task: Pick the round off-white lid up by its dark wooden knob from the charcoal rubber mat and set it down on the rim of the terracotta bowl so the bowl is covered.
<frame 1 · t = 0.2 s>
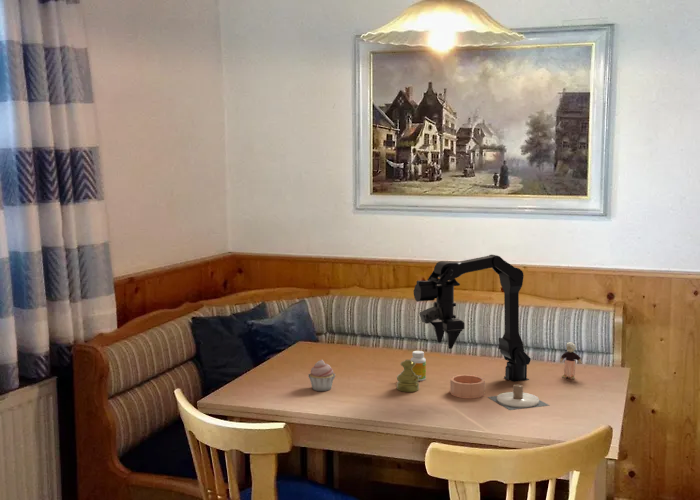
hand: (444, 345, 261), 14 cm above the table, tool pointing down, fingers open, 9 cm apart
supplement bottle: (418, 379, 273), on the table
bowl: (467, 394, 255), on the table
cupcake: (321, 389, 262), on the table
grandmother figurine: (570, 378, 274), on the table
olive green figurine: (407, 389, 261), on the table
lid: (517, 401, 246), resting on mat
mat: (517, 402, 246), on the table
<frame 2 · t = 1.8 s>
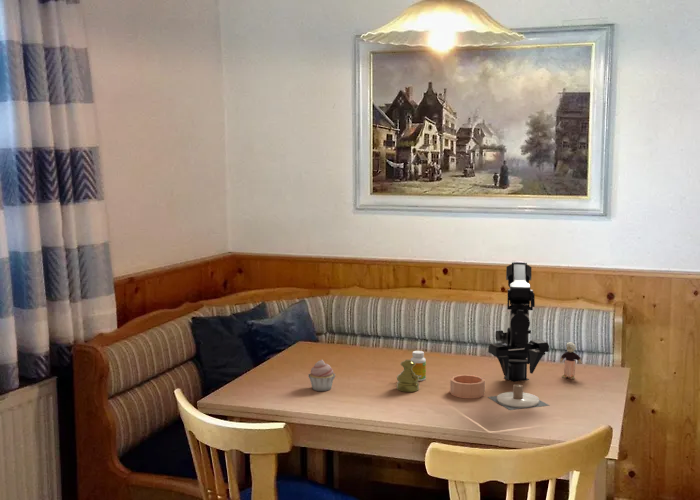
hand: (518, 374, 245), 9 cm above the table, tool pointing down, fingers open, 9 cm apart
nothing on the table moved.
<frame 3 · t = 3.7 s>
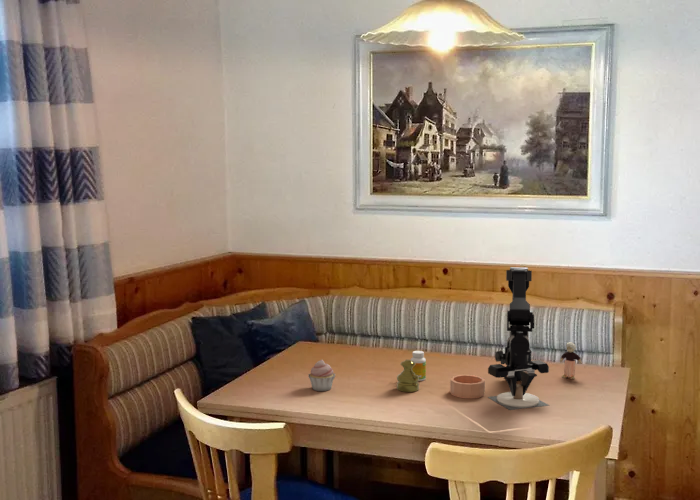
hand: (518, 395, 246), 2 cm above the table, tool pointing down, fingers closed on lid, 3 cm apart
lid: (517, 401, 246), resting on mat, touching gripper
everything else where it was.
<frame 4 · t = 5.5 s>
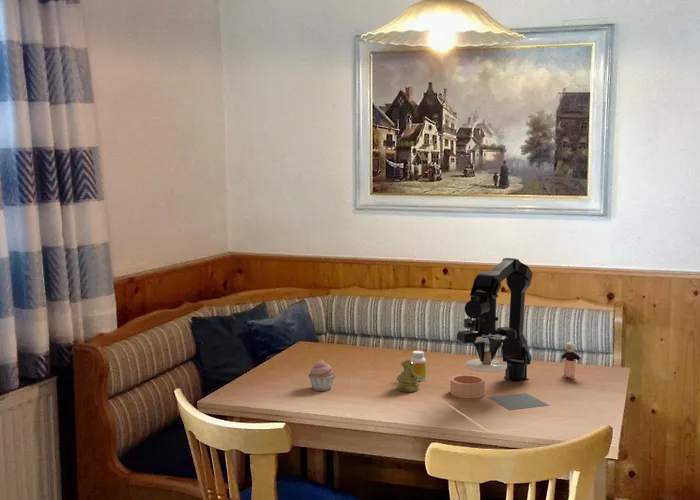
hand: (486, 361, 250), 12 cm above the table, tool pointing down, fingers closed on lid, 3 cm apart
lid: (486, 366, 250), point 10 cm above the table, touching gripper
everything else where it was.
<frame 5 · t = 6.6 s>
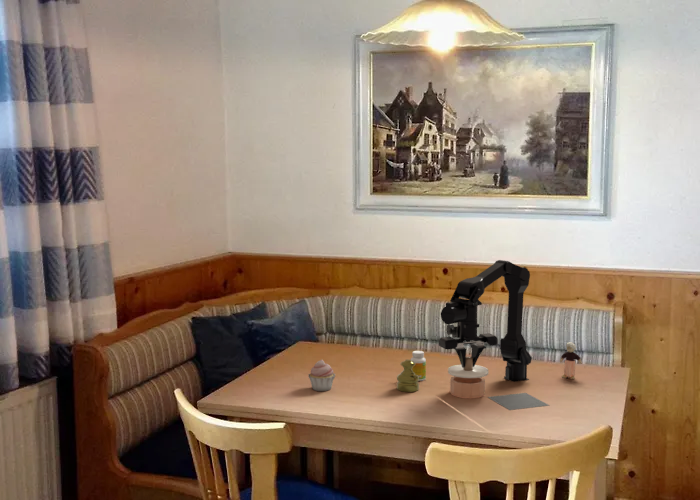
hand: (468, 367, 254), 9 cm above the table, tool pointing down, fingers closed on lid, 3 cm apart
lid: (468, 372, 254), point 7 cm above the table, touching gripper
everything else where it was.
when the fingers open (8 cm above the table, at t = 7.6 s): lid stays where it is, resting on bowl.
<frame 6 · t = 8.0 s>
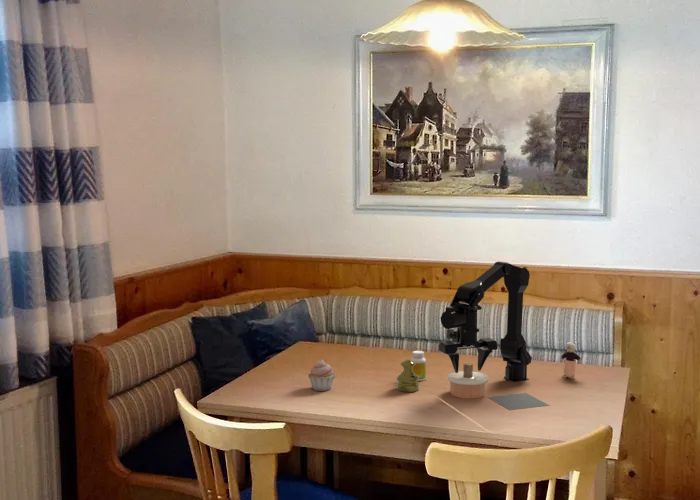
hand: (467, 371, 254), 8 cm above the table, tool pointing down, fingers open, 8 cm apart
lid: (467, 379, 254), point 5 cm above the table, touching bowl
everything else where it was.
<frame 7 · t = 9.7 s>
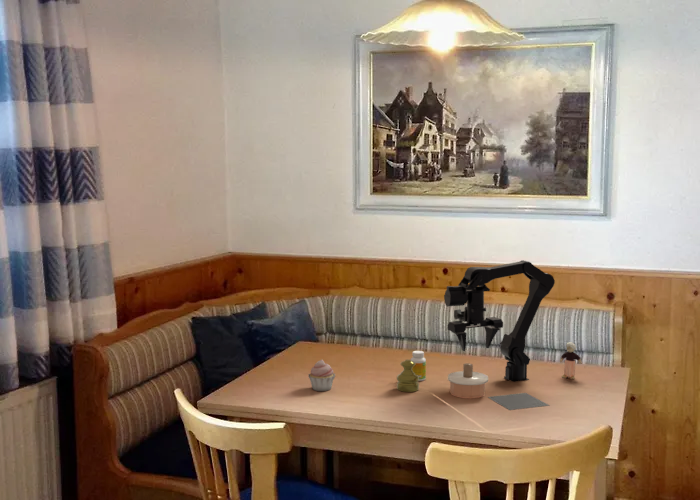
hand: (475, 349, 267), 12 cm above the table, tool pointing down, fingers open, 9 cm apart
nothing on the table moved.
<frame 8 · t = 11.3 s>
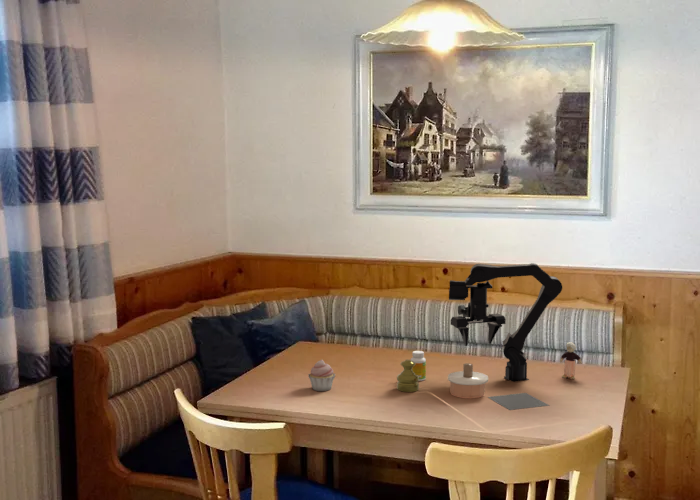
hand: (477, 344, 272), 12 cm above the table, tool pointing down, fingers open, 9 cm apart
nothing on the table moved.
at the end: lid 0.1 cm off-centre on the bowl, point 5.0 cm above the bowl's base; lid tilted 0°; the gripper is holding nothing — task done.
